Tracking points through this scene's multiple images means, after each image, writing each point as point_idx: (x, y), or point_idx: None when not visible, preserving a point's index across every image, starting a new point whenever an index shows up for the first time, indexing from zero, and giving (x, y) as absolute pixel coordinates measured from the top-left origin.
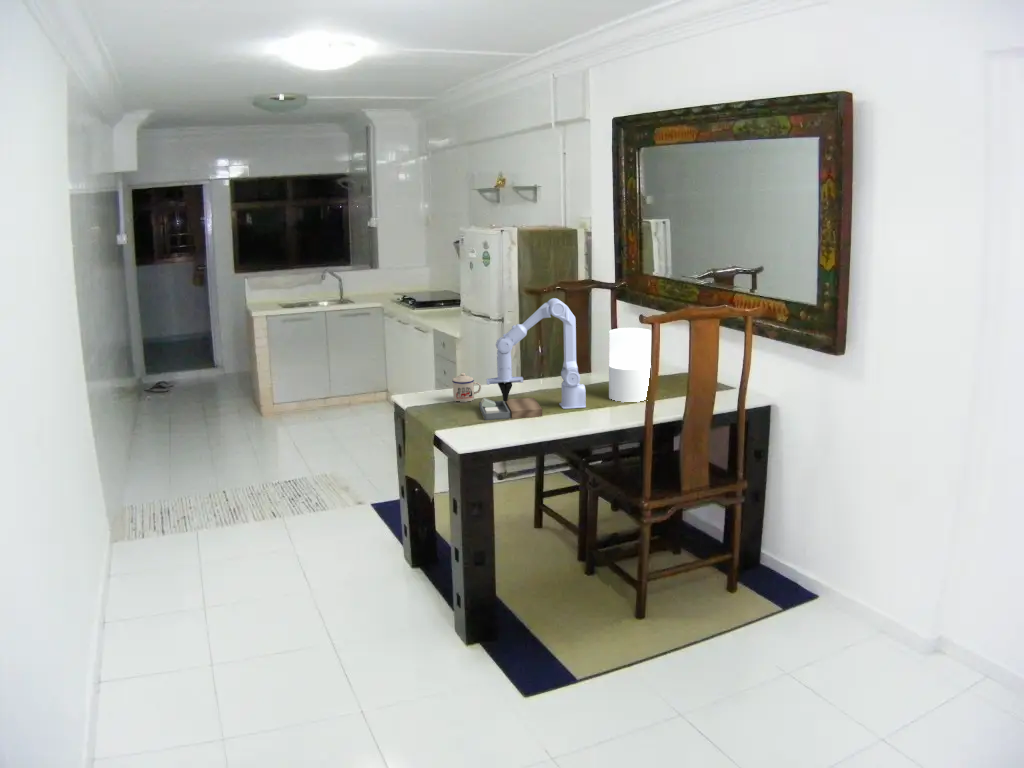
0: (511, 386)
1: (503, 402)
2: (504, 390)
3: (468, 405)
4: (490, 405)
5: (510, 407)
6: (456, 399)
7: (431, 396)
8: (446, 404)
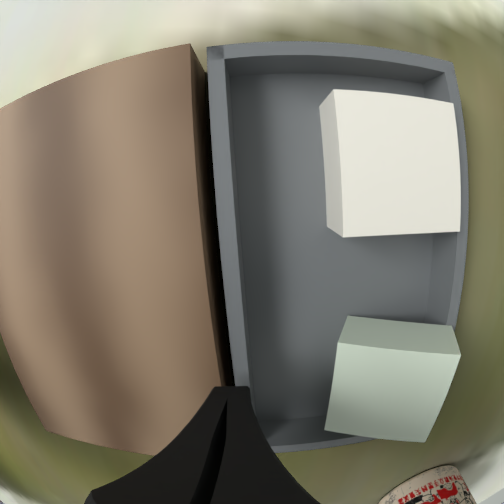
0: (92, 494)
1: None
2: (232, 472)
3: (438, 436)
4: (387, 335)
5: (186, 188)
6: (459, 473)
7: (478, 490)
8: (497, 432)
